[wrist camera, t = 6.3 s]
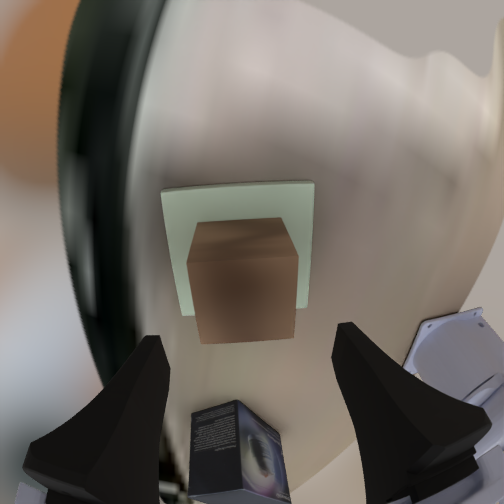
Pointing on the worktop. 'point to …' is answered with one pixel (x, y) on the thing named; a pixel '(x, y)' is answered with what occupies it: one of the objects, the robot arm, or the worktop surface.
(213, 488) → the small box
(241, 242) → the walnut cube
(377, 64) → the worktop surface
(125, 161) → the worktop surface
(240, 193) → the plate
